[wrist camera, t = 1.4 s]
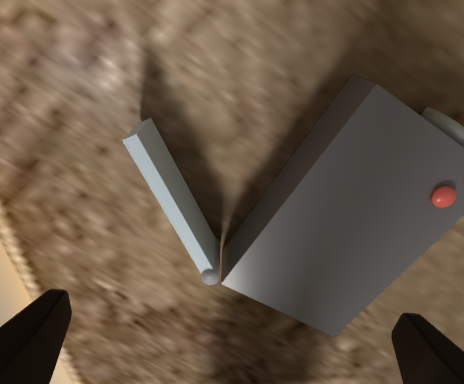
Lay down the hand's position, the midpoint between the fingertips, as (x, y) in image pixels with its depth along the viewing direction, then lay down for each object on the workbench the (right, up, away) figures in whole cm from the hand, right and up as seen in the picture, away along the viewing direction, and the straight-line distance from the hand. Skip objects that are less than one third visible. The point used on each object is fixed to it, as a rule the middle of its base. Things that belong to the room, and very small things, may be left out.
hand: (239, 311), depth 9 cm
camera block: (+7, +2, +13) cm, 15 cm away
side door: (-3, +3, +13) cm, 13 cm away
